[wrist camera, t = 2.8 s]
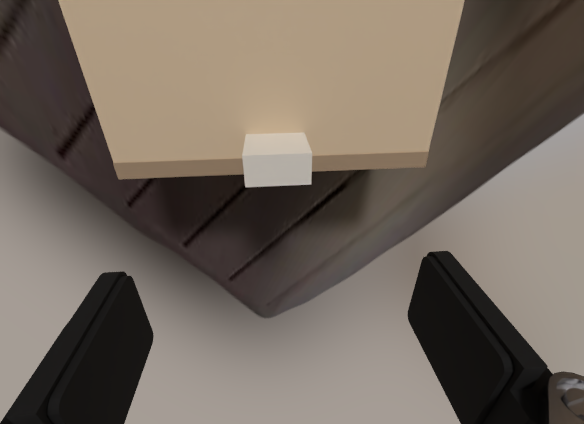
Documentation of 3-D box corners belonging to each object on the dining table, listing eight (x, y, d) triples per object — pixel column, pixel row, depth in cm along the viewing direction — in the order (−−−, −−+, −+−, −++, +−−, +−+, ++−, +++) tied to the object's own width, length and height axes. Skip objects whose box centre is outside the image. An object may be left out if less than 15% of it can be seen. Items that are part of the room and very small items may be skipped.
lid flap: (494, -152, 15) (578, -217, 11) (421, 163, 23) (452, 191, 19) (9, -166, 13) (-98, -246, 9) (122, 175, 22) (91, 207, 18)
